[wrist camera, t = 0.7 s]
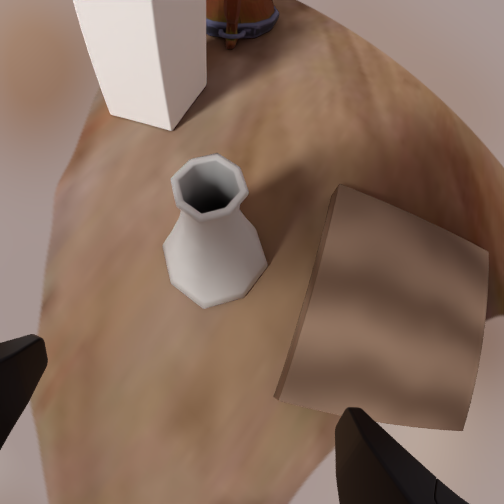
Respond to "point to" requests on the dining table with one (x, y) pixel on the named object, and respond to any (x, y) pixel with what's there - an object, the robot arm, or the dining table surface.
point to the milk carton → (147, 55)
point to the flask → (212, 234)
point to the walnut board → (389, 318)
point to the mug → (239, 19)
